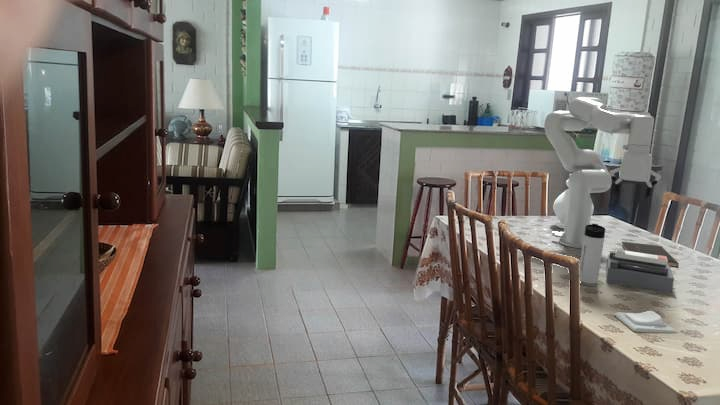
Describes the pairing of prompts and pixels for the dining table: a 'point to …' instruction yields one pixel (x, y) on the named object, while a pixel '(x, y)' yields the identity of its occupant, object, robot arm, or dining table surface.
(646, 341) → the dining table surface
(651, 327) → the light switch
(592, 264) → the travel mug
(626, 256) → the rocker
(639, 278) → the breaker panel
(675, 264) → the hardcover book
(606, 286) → the dining table surface
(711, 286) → the dining table surface
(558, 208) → the decorative vase
